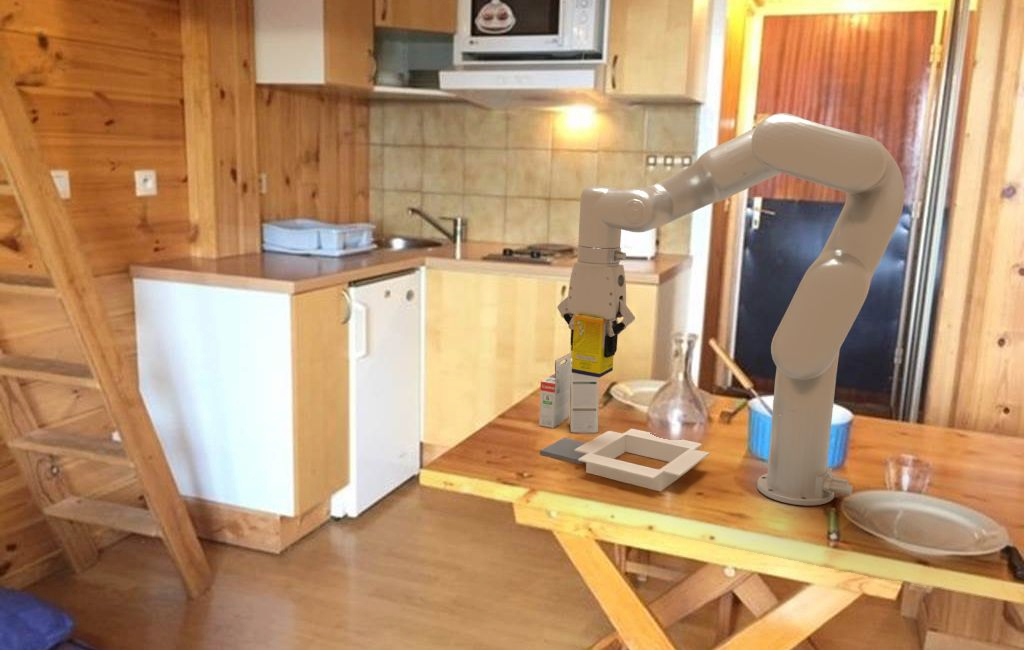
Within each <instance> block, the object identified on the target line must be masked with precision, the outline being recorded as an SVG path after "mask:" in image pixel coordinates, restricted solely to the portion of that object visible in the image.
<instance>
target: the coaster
mask: <svg viewBox="0 0 1024 650" xmlns="http://www.w3.org/2000/svg"><path fill="white" fill-rule="evenodd" d="M585 443H587V442H585V441H580V440H576V439H573V438H569V437H563V438H561V439H559V440H557V441H555V442H553V443H552V444H550V445H548V446H546V447H544V448H542V449H540V451H539V455H541V456H545V457H549V458H553V459H557V460H561V461H565V462H570V463H573V464H577V465H583V464H584V463H585V464H586V462H582V461H578V459H579V458H581V457H582V456H584V455H586V454H585V453H581V452H577V451H574V450H575V449H576V448H578V447H580V446H582V445H583V444H585Z"/></svg>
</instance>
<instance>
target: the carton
mask: <svg viewBox="0 0 1024 650" xmlns="http://www.w3.org/2000/svg"><path fill="white" fill-rule="evenodd" d="M650 433H651V432H649V431H645V430H641V429H640V430H639V429H635V428H630V429H628V430H626V431H625V432H623V433H621V432H616V431H612V430H607V431H605V432H604V433H602V434H599V435H598V436H596V437H595V438H592V439H591V440H589V441H587V442H586V443H585V444H583V445H582V446H580V447H578V448H576V449H575V450H574V451H577V452H581V453H585V454H586V455H584V456H582V457H581V458H579V459H578V461H582V462H585V466H586V467H585V469H586V470H585V473H586V474H590V475H595V476H597V477H602V478H606V479H610V480H613V481H617V482H621V483H625V484H629V485H633V486H638V487H641V488H645V489H649V490H653V491H657V492H662V491H664V490H665V489H666V488H667V487H669V486H670V485H672V483H674V482H676V481H677V480H678V479H680V478H681V477H683V476H684V475H685V474H686V473H687V472H689V471H690V470H691V469H693V468H695V466H696V465H697V464H699V463H700V462H701V461H703V460H704V459H705V458H706V457H708V456H710V452H707V451H702V450H698V449H699V448H700V447H702V446H703V444H702V443H699V442H696V441H692V440H691V441H690V440H687V439H682V440H668V439H663V438H659V437H656V436H654V435H652V434H650ZM624 453H629V454H632V455H633V454H634V455H637V456H640V457H641V456H642V457H646V458H651V459H653V460H654V459H655V460H659V461H664V462H667V464H665V465H664V466H662V467H661V468H659V469H657V468H653V467H649V466H646V465H645V466H644V465H640V464H637V463H632V462H629V461H623V460H620V459H616V458H617V457H619V456H622V455H623V454H624Z"/></svg>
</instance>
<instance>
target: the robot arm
mask: <svg viewBox="0 0 1024 650" xmlns="http://www.w3.org/2000/svg"><path fill="white" fill-rule="evenodd" d="M781 174H785V175H787V176H791V177H793V178H798V179H800V180H804V181H807V182H810V183H813V184H818V185H820V186H823V187H826V188H830V189H833V190H836V191H839V192H843V193H845V201H844V205H843V207H842V210H841V212H840V214H839V216H838V217H837V220H836V222H835V224H834V227H833V229H832V231H831V232H830V235H829V237H828V239H827V241H826V243H825V245H824V246H823V248H822V251H820V254H819V255H818V257H816V259H815V260H814V262H813V263H811V265H809V267H808V268H807V270H806V271H805V273H804V274H803V277H802V279H801V281H800V282H799V285H798V287H797V289H796V291H795V293H794V295H793V296H792V299H791V301H790V303H789V305H788V307H787V309H786V311H785V313H784V315H783V317H782V318H781V321H780V323H779V325H778V326H777V329H776V331H775V333H774V334H773V337H772V341H771V346H770V353H771V358H772V360H773V363H774V364H775V366H776V370H775V371H776V372H775V379H774V391H773V400H772V402H773V403H772V411H771V423H770V427H771V428H770V436H769V437H770V440H769V452H768V463H767V473H764V474H763V475H761V476H759V477H758V478H757V487H756V488H757V490H758V491H759V492H760V493H761V494H763V495H764V496H765V497H768V498H769V499H771V500H774V501H777V502H781V503H784V504H790V505H796V506H821V505H825V504H827V503H830V502H831V501H833V499H834V498H835V493H836V494H838V495H840V496H841V495H842V496H846V497H851V496H852V493H853V489H854V486H853V484H849V479H843V478H837V477H835V475H832V472H833V468H832V467H829V466H828V464H829V463H828V462H829V452H830V442H831V430H832V422H833V421H832V420H833V410H834V409H833V408H834V402H835V391H836V390H835V389H836V382H837V374H838V373H837V372H838V363H839V357H840V350H841V347H842V345H843V344H844V342H845V340H846V338H847V336H848V334H849V332H850V331H851V329H852V327H853V325H854V323H855V321H856V319H857V317H858V315H859V313H860V312H861V309H862V307H863V305H864V303H865V302H866V299H867V296H868V294H869V290H870V286H871V283H872V280H873V279H872V278H873V276H874V274H875V272H876V270H877V267H878V266H879V264H880V262H881V260H882V257H883V256H884V254H885V252H886V250H887V248H888V245H889V244H890V242H891V239H892V237H893V236H894V233H895V231H896V229H897V227H898V224H899V223H900V219H901V217H902V216H901V215H902V213H903V208H904V203H905V181H904V178H903V175H902V171H901V169H900V167H899V165H898V164H897V162H896V160H895V159H894V157H893V155H892V154H891V153H890V152H889V151H888V149H887V148H886V147H885V146H884V144H883V143H881V142H880V141H879V140H878V139H876V138H874V137H871V136H868V135H863V134H860V133H855V132H852V131H849V130H848V131H847V130H844V129H840V128H838V127H837V128H836V127H834V126H829V125H826V124H821V123H819V122H815V121H813V120H808V119H805V118H803V117H800V116H797V115H795V114H792V113H786V112H779V113H775V114H774V113H773V114H772V115H768V116H767V117H765V118H764V119H763V120H762V121H761V122H759V123H758V125H757V126H756V127H754V128H751V129H750V130H748V131H747V132H743V133H742V134H739V135H738V136H735V137H734V138H730V140H728V141H725V142H723V143H720V144H719V145H716V146H715V147H712V148H709V149H708V150H707V151H705V152H704V153H702V154H701V155H700V156H699V157H698V158H697V160H695V161H694V162H693V163H692V164H691V165H690V166H688V167H686V168H684V169H683V170H680V171H679V172H677V173H675V174H673V175H671V176H669V177H667V178H665V179H663V180H660V181H659V182H656V183H654V184H652V185H650V186H643V187H639V188H638V187H637V188H631V189H630V188H629V189H620V188H618V187H614V186H604V185H602V186H601V185H600V186H599V185H590V186H585V187H584V188H583V189H582V191H581V193H580V200H579V201H580V203H579V205H580V206H579V219H578V220H579V221H578V239H577V240H578V242H577V244H578V245H577V258H576V259H577V260H576V261H574V263H573V266H572V269H571V274H570V278H569V279H570V280H569V285H568V292H567V293H568V294H567V296H566V298H564V299H563V300H562V301H561V302H560V303H559V304H558V305H557V310H558V311H559V313H560V314H561V316H563V319H564V321H565V323H566V324H567V325H568V329H569V330H570V345H571V351H573V332H574V315H577V314H578V315H586V316H592V317H598V318H603V319H605V321H606V329H607V333H608V335H607V336H606V337H605V346H604V357H606V358H608V357H611V356H613V357H614V356H615V354H616V353H617V350H618V349H617V348H618V336H619V334H621V332H623V331H624V330H625V329H627V327H628V326H629V325H631V324H632V323H633V322H634V321H635V319H636V317H635V315H634V314H633V312H632V311H631V310H630V308H629V307H628V306H627V284H626V282H627V281H626V273H625V266H624V264H620V262H621V261H625V260H626V258H627V253H626V252H623V251H622V247H621V243H622V242H621V241H622V240H621V239H622V230H623V231H627V232H631V233H645V232H648V231H650V230H651V231H652V230H653V229H654V230H655V229H657V228H661V227H664V226H665V225H667V224H669V223H671V222H674V221H676V220H678V219H680V218H683V217H685V216H687V215H689V214H691V213H694V212H696V211H698V210H699V209H702V208H704V207H706V206H709V205H711V204H714V203H718V202H721V201H724V200H726V199H728V198H730V197H733V196H735V195H738V194H739V193H741V192H743V191H746V190H747V189H750V188H752V187H755V186H756V185H759V184H761V183H763V182H765V181H766V180H770V179H772V178H775V177H776V176H778V175H781ZM620 318H623V319H621V321H620V322H619V320H618V319H620Z"/></svg>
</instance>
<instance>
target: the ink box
mask: <svg viewBox="0 0 1024 650" xmlns="http://www.w3.org/2000/svg"><path fill="white" fill-rule="evenodd" d="M571 357H572V356H571V353H570V352H569V353H567V354H565V355H563V356H561V357H560V358H558V359H555V360H554V371H555V372H554V374H551V375H549V376H547V377H546V378H544V379H542V380H541V381H540V391H539V392H540V395H539V396H540V397H539V400H540V401H539V422H538V423H539V424H538V425H539V427H545V428H551V429H554V428H556V427H558V426H560V425H561V424H562V423H564V422H565V421H566V420H568V419H570V367H571V359H572V358H571ZM563 360H565V362H563ZM562 362H563V363H562Z"/></svg>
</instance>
